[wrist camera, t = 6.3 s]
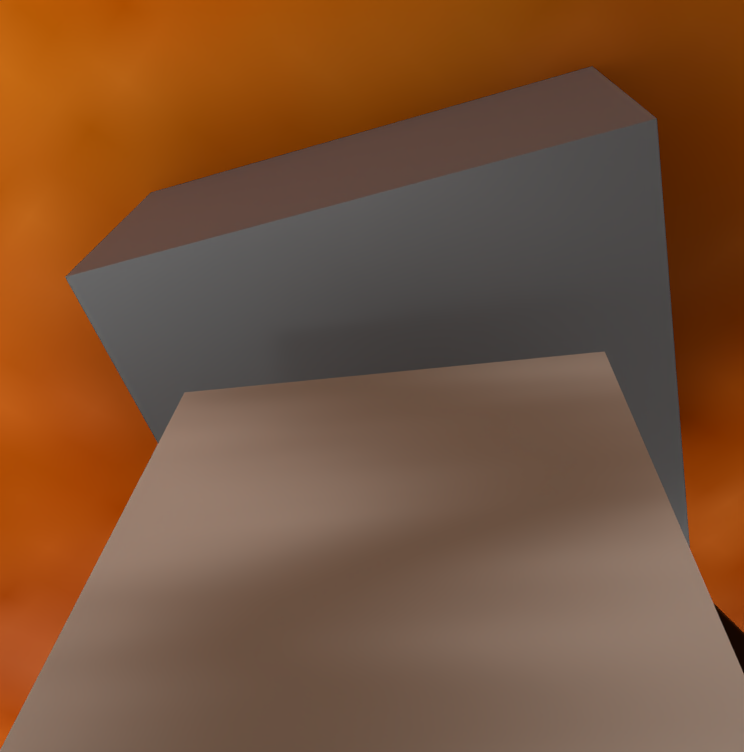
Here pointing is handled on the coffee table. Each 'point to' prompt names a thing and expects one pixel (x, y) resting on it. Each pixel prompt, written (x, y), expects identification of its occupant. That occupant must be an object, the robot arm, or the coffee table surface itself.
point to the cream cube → (396, 579)
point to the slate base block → (408, 259)
